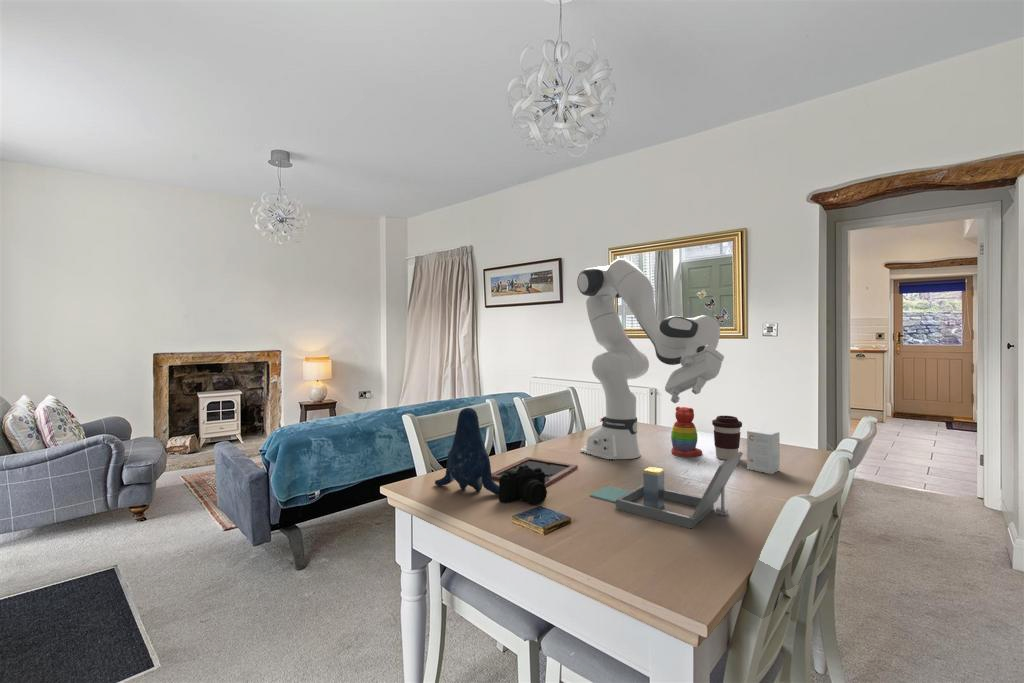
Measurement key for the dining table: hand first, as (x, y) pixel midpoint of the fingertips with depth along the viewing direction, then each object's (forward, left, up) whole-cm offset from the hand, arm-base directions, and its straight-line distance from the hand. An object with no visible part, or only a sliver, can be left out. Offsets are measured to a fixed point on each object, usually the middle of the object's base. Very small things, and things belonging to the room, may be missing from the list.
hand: (684, 397), depth 141 cm
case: (+5, -17, -28) cm, 33 cm away
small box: (+12, +37, -28) cm, 48 cm away
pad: (-14, -16, -28) cm, 35 cm away
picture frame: (-45, -14, -28) cm, 55 cm away
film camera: (-31, -34, -28) cm, 54 cm away
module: (-2, -17, -28) cm, 32 cm away
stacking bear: (-16, +41, -28) cm, 52 cm away
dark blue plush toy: (-49, -40, -28) cm, 69 cm away
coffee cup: (-2, +45, -28) cm, 53 cm away
